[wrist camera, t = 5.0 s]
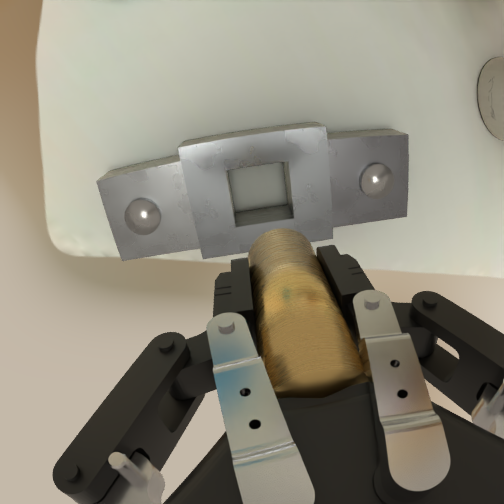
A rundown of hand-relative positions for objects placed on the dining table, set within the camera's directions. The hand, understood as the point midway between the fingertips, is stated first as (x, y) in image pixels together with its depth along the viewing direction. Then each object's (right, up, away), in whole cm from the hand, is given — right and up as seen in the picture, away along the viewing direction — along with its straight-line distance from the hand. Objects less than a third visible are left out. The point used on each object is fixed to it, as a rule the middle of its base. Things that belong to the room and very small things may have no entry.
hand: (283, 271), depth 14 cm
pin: (0, +1, +1) cm, 1 cm away
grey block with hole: (-1, +6, +12) cm, 14 cm away
